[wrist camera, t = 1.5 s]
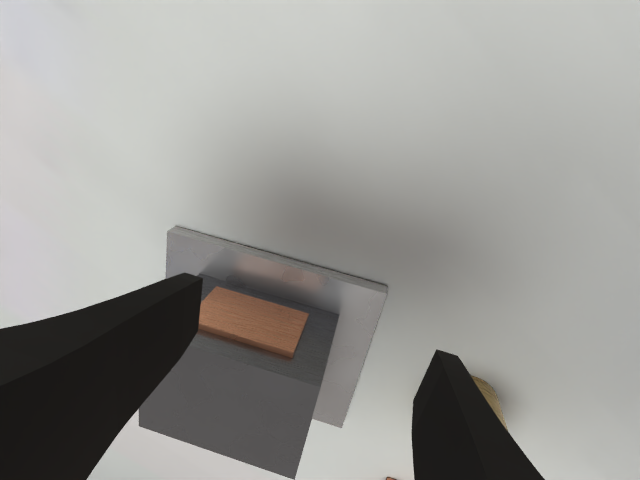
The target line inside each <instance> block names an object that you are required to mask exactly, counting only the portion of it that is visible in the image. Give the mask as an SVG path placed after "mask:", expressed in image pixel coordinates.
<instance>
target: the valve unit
mask: <svg viewBox="0 0 640 480" xmlns="http://www.w3.org/2000/svg"><path fill="white" fill-rule="evenodd" d="M181 273H188V274H192V275H195V276H198V277H201V278H203V284H202V295H201V306H200V317H199V327H198V332H197V334H196V335H195V337H194V338H193V340H192V342H191V343H190V345H189V346H188V348H187V349H186V351H185V352H184V354H183V355H182V357H181V358H180V360H179V361H178V362H177V363H176V365H175V366H174V367H173V368H172V369H171V371H170V372H169V373H168V374H167V375H166V377H165V378H164V379H163V380H162V381H161V383H160V384H159V385H158V386H157V387H156V388H155V390H154V391H153V392H152V393H151V394H150V396H149V397H148V398H147V399H146V400H145V401H144V403H143V404H142V405H141V406H140V407H139V426H140V427H143V428H146V429H149V430H152V431H155V432H158V433H160V434H163V435H166V436H169V437H172V438H175V439H178V440H181V441H184V442H187V443H190V444H192V445H195V446H198V447H201V448H204V449H207V450H210V451H213V452H216V453H219V454H221V455H224V456H227V457H230V458H233V459H236V460H239V461H242V462H245V463H248V464H250V465H253V466H256V467H259V468H262V469H265V470H268V471H271V472H274V473H277V474H279V475H282V476H285V477H288V478H291V479H294V480H295V476H296V473H297V469H298V466H299V462H300V458H301V455H302V451H303V448H304V444H305V441H306V437H307V434H308V430H309V427H310V423H311V420H312V419H315V420H318V421H321V422H324V423H327V424H330V425H334V426H337V427H340V428H342V425H343V422H344V420H345V417H346V414H347V411H348V408H349V405H350V402H351V399H352V396H353V393H354V390H355V387H356V384H357V381H358V378H359V375H360V372H361V369H362V366H363V363H364V360H365V358H366V355H367V352H368V349H369V346H370V343H371V340H372V337H373V334H374V331H375V328H376V325H377V322H378V319H379V316H380V313H381V310H382V307H383V304H384V301H385V298H386V295H387V286H385V285H382V284H378V283H375V282H371V281H368V280H364V279H361V278H357V277H354V276H350V275H347V274H343V273H340V272H336V271H333V270H329V269H325V268H322V267H318V266H315V265H311V264H308V263H304V262H301V261H297V260H294V259H290V258H287V257H283V256H280V255H276V254H273V253H269V252H266V251H262V250H258V249H255V248H251V247H248V246H244V245H241V244H237V243H234V242H230V241H227V240H223V239H220V238H216V237H213V236H209V235H206V234H202V233H199V232H195V231H191V230H188V229H184V228H181V227H177V226H175V227H173V228H172V229H170V230H168V231H167V256H166V279H167V278H170V277H172V276H175V275H178V274H181Z"/></svg>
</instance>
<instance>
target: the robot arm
mask: <svg viewBox="0 0 640 480" xmlns="http://www.w3.org/2000/svg"><path fill="white" fill-rule="evenodd" d="M202 284H203V278H201V277H198V276H195V275H192V274H188V273H181V274H178V275H175V276H172V277H170V278H167V279H164V280H162V281H159V282H157V283H154V284H151V285H149V286H146V287H143V288H141V289H138V290H135V291H133V292H130V293H127V294H125V295H122V296H119V297H116V298H113V299H110V300H107V301H104V302H101V303H98V304H95V305H92V306H89V307H86V308H83V309H80V310H77V311H73V312H70V313H66V314H63V315H59V316H55V317H51V318H47V319H43V320H40V321H36V322H31V323H27V324H23V325H18V326H13V327H8V328H3V329H0V480H86V479H87V478H88V476H89V475H90V473H91V472H92V470H93V469H94V467H95V466H96V465H97V463H98V462H99V460H100V459H101V457H102V456H103V455H104V453H105V452H106V450H107V449H108V447H109V446H110V445H111V443H112V442H113V440H114V439H115V437H116V436H117V435H118V433H119V432H120V431H121V429H122V428H123V427H124V426H125V424H126V423H127V422H128V420H129V419H130V418H131V417H132V416H133V414H134V413H135V412H136V411H137V410H138V409H139V407H140V406H141V405H142V404H143V403H144V401H145V400H146V399H147V398H148V397H149V396H150V394H151V393H152V392H153V391H154V390H155V388H156V387H157V386H158V385H159V384H160V383H161V381H162V380H163V379H164V378H165V377H166V375H167V374H168V373H169V372H170V371H171V369H172V368H173V367H174V366H175V365H176V363H177V362H178V361H179V360H180V358H181V357H182V355H183V354H184V352H185V351H186V349H187V348H188V346H189V345H190V343H191V342H192V340H193V338H194V337H195V335H196V334H197V332H198V327H199V317H200V306H201V295H202ZM412 449H413V464H414V478H415V480H545V479H544V478H543V477H542V476H541V475H540V473H539V472H538V471H537V470H536V468H535V467H534V466H533V464H532V463H531V462H530V461H529V459H528V458H527V457H526V455H525V454H524V453H523V451H522V450H521V449H520V447H519V446H518V445H517V443H516V442H515V441H514V439H513V438H512V437H511V435H510V434H509V432H508V431H507V430H506V428H505V427H504V425H503V424H502V423H501V421H500V420H499V418H498V417H497V415H496V414H495V412H494V411H493V409H492V408H491V406H490V405H489V403H488V402H487V400H486V399H485V397H484V396H483V394H482V393H481V391H480V390H479V388H478V386H477V385H476V383H475V382H474V380H473V379H472V377H471V375H470V374H469V372H468V371H467V369H466V368H465V366H464V365H463V363H462V362H461V360H460V359H459V357H458V356H456V355H453V354H450V353H446V352H443V351H440V350H437V349H436V351H435V354H434V356H433V358H432V360H431V363H430V365H429V367H428V369H427V371H426V374H425V376H424V378H423V380H422V383H421V385H420V387H419V389H418V391H417V394H416V396H415V398H414V401H413V417H412Z"/></svg>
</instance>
